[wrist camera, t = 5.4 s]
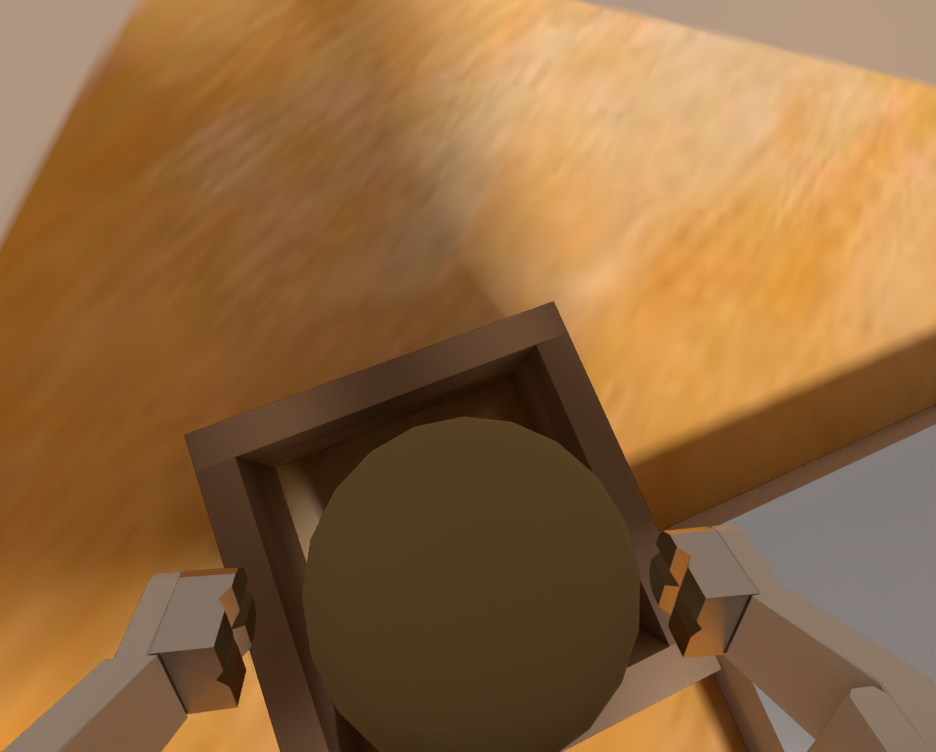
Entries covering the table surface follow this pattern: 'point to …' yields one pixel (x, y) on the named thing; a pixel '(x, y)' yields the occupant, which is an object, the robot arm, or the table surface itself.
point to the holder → (372, 406)
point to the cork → (471, 592)
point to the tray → (844, 556)
